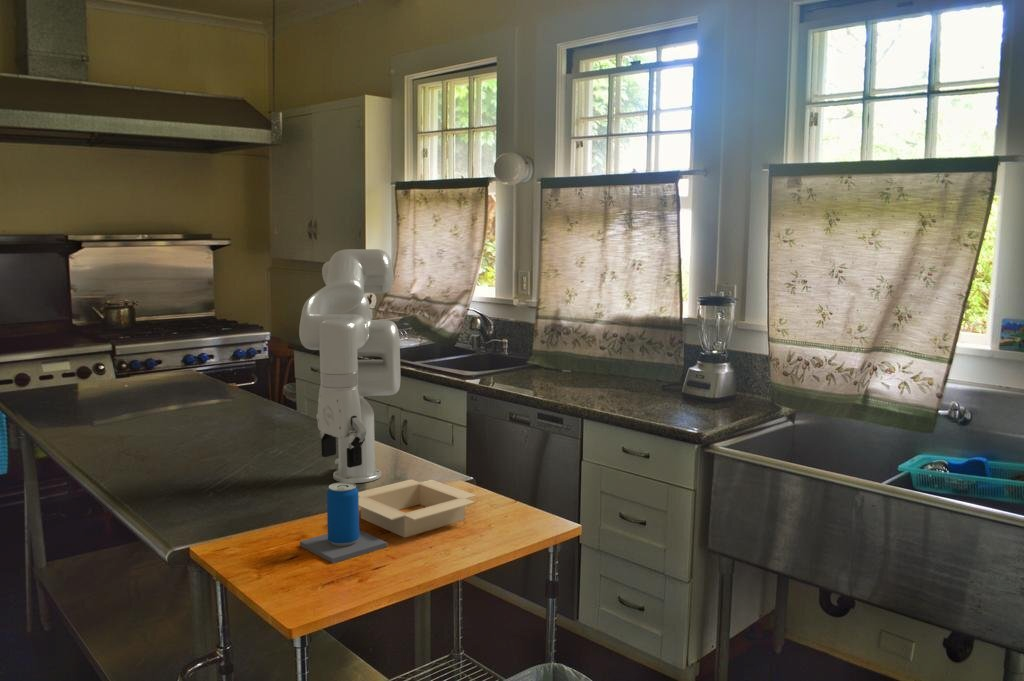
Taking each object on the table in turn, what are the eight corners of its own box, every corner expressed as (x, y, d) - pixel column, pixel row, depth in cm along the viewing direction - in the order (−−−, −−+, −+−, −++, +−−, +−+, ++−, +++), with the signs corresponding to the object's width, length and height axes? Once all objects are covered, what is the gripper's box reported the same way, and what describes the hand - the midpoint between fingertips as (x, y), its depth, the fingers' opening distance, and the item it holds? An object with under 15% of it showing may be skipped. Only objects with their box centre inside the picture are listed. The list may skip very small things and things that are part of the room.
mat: (299, 545, 181) (299, 541, 181) (352, 531, 190) (352, 526, 189) (332, 563, 171) (332, 558, 171) (387, 547, 180) (386, 542, 180)
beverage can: (361, 536, 184) (360, 481, 182) (357, 547, 177) (355, 490, 176) (330, 536, 183) (329, 481, 182) (325, 547, 177) (323, 490, 175)
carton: (339, 517, 198) (339, 496, 197) (422, 495, 214) (422, 476, 214) (400, 545, 181) (400, 523, 180) (486, 519, 197) (486, 498, 196)
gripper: (301, 376, 180) (304, 455, 182) (346, 389, 167) (348, 474, 170) (332, 371, 185) (335, 448, 187) (378, 384, 172) (380, 466, 175)
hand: (341, 460), depth 179 cm, fingers open, 9 cm apart
